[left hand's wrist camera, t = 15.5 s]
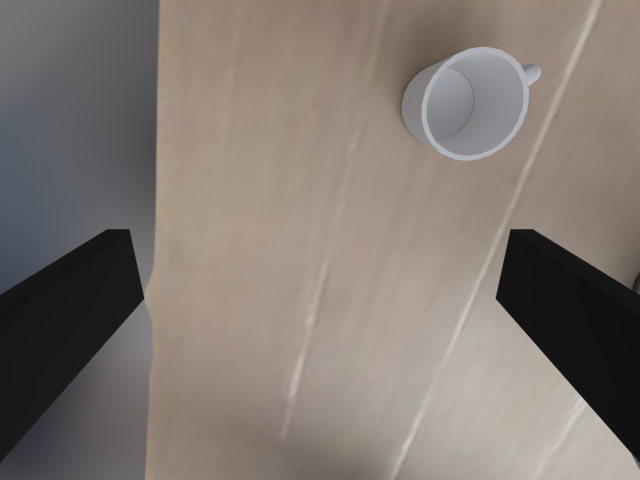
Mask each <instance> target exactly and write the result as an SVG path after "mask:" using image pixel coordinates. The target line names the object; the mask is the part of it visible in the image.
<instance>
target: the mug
mask: <svg viewBox="0 0 640 480" xmlns="http://www.w3.org/2000/svg"><path fill="white" fill-rule="evenodd" d="M540 75H541V69H540V67H539V66H538V65H535V64H528V65H524V66H521V65H520V64H519V63H518V62H517V61H516V60H515V59H514V58H513V56H511V55H509V54H507V53H506V52H504V51H502V50H500V49H495V48H490V47H478V48H470V49H468V50H465V51H463V52H460V53H458V54H455V55H453V56H451V57H449V58H447V59H445V60H443V61H440V62H438V63H436V64H434V65H432V66H430V67H428V68H426V69H424V70H422V71H421V72H420V73H418V74H417V75H415V77H414V78H413V79H412V80H411V81H410V83H409V84H408V86H407V88H406V90H405V92H404V94H403V98H402V102H401V114H402V118H403V122H404V124H405V126H406V127H407V129H408V131H409V132H410V133H411V134H412V135H413V136H415V137H416V138H418V139H419V140H421V141H422V142H424V143H425V144H427V145H429V146H430V147H432V148H433V149H435V150H436V151H438V152H440V153H442V154H444V155H446V156H448V157H450V158H452V159H457V160H463V161H468V160H478V159H481V158H484V157H487V156H489V155H492V154H493V153H495V152H496V151H498V150H500V149H501V148H503V147H504V146H505V145H506V144H507V143H508V142H509V141H510V140H511V139H512V138H513V137H514V136H515V134H516V133H517V131H518V129H519V128H520V126H521V125H522V123H523V120H524V117H525V115H526V112H527V109H528V101H529V88H528V85H530V84H532V83H533V82H535V81H536V80H537V79H538V78H539V77H540Z"/></svg>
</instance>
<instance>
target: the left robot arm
mask: <svg viewBox="0 0 640 480" xmlns="http://www.w3.org/2000/svg"><path fill="white" fill-rule="evenodd" d="M143 300H144V295H143V290H142V285H141V281H140V276H139V272H138V267H137V263H136V258H135V253H134V248H133V244H132V239H131V235H130V230H129V229H107V230H105V231H104V232H102V233H100V234H99V235H97V236H95V237H94V238H92V239H91V240H89V241H87V242H86V243H84V244H82V245H81V246H79V247H77V248H76V249H74V250H73V251H71V252H69V253H68V254H66V255H64V256H63V257H61V258H60V259H58V260H56V261H55V262H53V263H51V264H50V265H48V266H47V267H45V268H43V269H42V270H40V271H39V272H37V273H35V274H34V275H32V276H30V277H29V278H27V279H25V280H24V281H22V282H21V283H19V284H17V285H16V286H14V287H12V288H11V289H9V290H8V291H6V292H4V293H3V294H1V295H0V462H1V461H2V460H3V459H4V458H5V457H6V456H7V454H8V453H9V452H10V451H11V450H12V449H13V448H14V447H15V445H16V444H17V443H18V442H19V441H20V440H21V439H22V437H23V436H24V435H25V434H26V433H27V432H28V431H29V429H30V428H31V427H32V426H33V425H34V424H35V423H36V421H37V420H38V419H39V418H40V417H41V416H42V415H43V413H44V412H45V411H46V410H47V409H48V408H49V407H50V405H51V404H52V403H53V402H54V401H55V400H56V399H57V397H58V396H59V395H60V394H61V393H62V392H63V391H64V389H65V388H66V387H67V386H68V385H69V384H70V383H71V382H72V380H73V379H74V378H75V377H76V376H77V375H78V374H79V372H80V371H81V370H82V369H83V368H84V367H85V366H86V364H87V363H88V362H89V361H90V360H91V359H92V358H93V357H94V355H95V354H96V353H97V352H98V351H99V350H100V349H101V347H102V346H103V345H104V344H105V343H106V342H107V341H108V339H109V338H110V337H111V336H112V335H113V334H114V333H115V331H116V330H117V329H118V328H119V327H120V326H121V325H122V323H123V322H124V321H125V320H126V319H127V318H128V317H129V315H130V314H131V313H132V312H133V311H134V310H135V309H136V308H137V306H138V305H139V304H140V303H141V302H142V301H143ZM496 300H497V301H498V302H499V303H500V304H501V305H502V306H503V308H504V309H505V310H506V311H507V312H508V313H509V314H510V315H511V317H512V318H513V319H514V320H515V321H516V322H517V323H518V325H519V326H520V327H521V328H522V329H523V330H524V331H525V333H526V334H527V335H528V336H529V337H530V338H531V339H532V341H533V342H534V343H535V344H536V345H537V346H538V347H539V349H540V350H541V351H542V352H543V353H544V354H545V355H546V357H547V358H548V359H549V360H550V361H551V362H552V363H553V364H554V366H555V367H556V368H557V369H558V370H559V371H560V372H561V374H562V375H563V376H564V377H565V378H566V379H567V380H568V382H569V383H570V384H571V385H572V386H573V387H574V388H575V390H576V391H577V392H578V393H579V394H580V395H581V396H582V398H583V399H584V400H585V401H586V402H587V403H588V404H589V405H590V407H591V408H592V409H593V410H594V411H595V412H596V413H597V415H598V416H599V417H600V418H601V419H602V420H603V421H604V423H605V424H606V425H607V426H608V427H609V428H610V429H611V431H612V432H613V433H614V434H615V435H616V436H617V437H618V439H619V440H620V441H621V442H622V443H623V444H624V445H625V447H626V448H627V449H628V450H629V451H630V452H631V453H632V456H633V458H634V460H635V462H636V464H637V465H638V467H639V469H640V275H639V277H638V279H637V281H636V283H635V285H634V288H633V291H632V290H631V289H629V288H628V287H626V286H624V285H623V284H621V283H619V282H618V281H616V280H615V279H613V278H611V277H610V276H608V275H606V274H605V273H603V272H602V271H600V270H598V269H597V268H595V267H593V266H592V265H590V264H589V263H587V262H585V261H584V260H582V259H580V258H579V257H577V256H576V255H574V254H572V253H571V252H569V251H567V250H566V249H564V248H563V247H561V246H559V245H558V244H556V243H554V242H553V241H551V240H549V239H548V238H546V237H545V236H543V235H541V234H540V233H538V232H536V231H535V230H533V229H511V230H510V235H509V239H508V244H507V248H506V253H505V258H504V262H503V267H502V272H501V276H500V281H499V285H498V290H497V295H496Z"/></svg>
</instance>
